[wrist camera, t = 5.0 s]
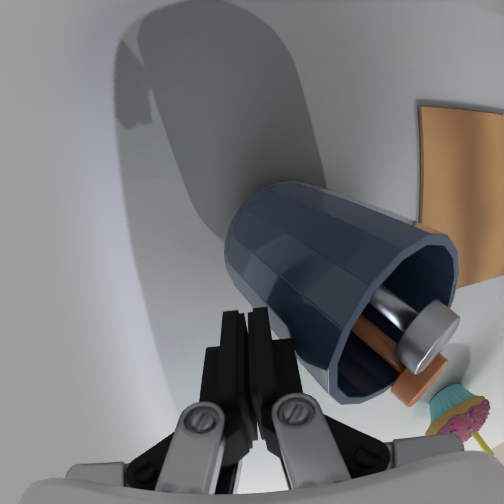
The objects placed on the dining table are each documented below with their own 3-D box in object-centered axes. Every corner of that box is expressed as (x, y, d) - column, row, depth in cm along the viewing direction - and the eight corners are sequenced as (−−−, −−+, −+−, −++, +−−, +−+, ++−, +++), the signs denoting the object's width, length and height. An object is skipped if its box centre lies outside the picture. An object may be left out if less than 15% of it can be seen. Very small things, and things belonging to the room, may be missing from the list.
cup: (200, 277, 16) (287, 405, 8) (268, 155, 15) (418, 193, 7) (295, 311, 20) (389, 401, 12) (351, 215, 19) (471, 272, 11)
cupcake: (471, 362, 26) (517, 439, 15) (473, 391, 29) (507, 456, 18) (410, 401, 28) (444, 486, 17) (420, 424, 31) (447, 494, 20)
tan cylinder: (273, 294, 18) (400, 417, 10) (273, 257, 16) (423, 385, 9) (308, 278, 19) (433, 383, 11) (311, 242, 17) (456, 349, 10)
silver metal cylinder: (266, 252, 16) (406, 386, 9) (264, 209, 15) (431, 344, 8) (305, 236, 17) (444, 349, 10) (306, 195, 16) (469, 305, 9)
